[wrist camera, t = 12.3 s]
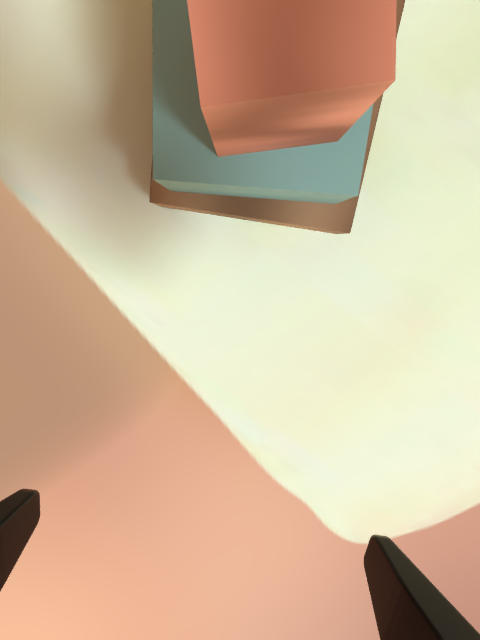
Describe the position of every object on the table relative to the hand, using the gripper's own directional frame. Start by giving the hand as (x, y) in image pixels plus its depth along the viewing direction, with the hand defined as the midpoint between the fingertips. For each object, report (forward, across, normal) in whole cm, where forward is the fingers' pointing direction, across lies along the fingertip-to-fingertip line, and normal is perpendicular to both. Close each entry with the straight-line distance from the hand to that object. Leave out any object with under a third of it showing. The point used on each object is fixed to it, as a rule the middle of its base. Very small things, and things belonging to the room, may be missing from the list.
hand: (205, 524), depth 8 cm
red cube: (+6, 0, -13) cm, 14 cm away
